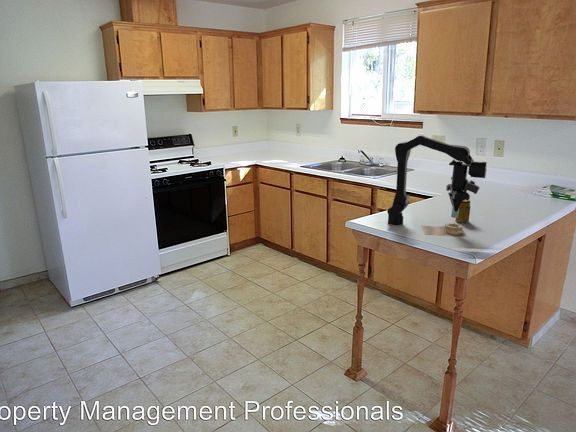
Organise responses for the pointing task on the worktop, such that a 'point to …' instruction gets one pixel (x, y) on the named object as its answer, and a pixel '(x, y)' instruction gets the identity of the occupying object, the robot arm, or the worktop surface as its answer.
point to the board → (439, 231)
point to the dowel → (454, 213)
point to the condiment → (463, 212)
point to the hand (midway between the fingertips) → (455, 210)
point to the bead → (453, 228)
